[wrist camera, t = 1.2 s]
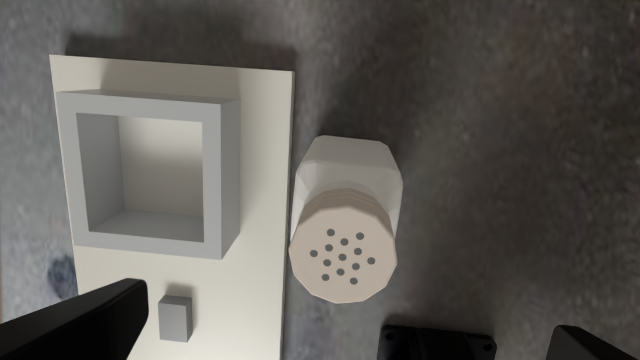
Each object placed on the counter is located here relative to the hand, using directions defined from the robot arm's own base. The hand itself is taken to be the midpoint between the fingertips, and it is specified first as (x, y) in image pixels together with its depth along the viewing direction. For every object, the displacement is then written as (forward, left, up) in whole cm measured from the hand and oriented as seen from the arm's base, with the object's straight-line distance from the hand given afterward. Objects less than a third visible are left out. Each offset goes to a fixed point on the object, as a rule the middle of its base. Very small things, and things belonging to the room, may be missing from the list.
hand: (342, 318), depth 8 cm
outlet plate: (-4, +9, -12) cm, 16 cm away
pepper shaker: (0, 0, -13) cm, 13 cm away
